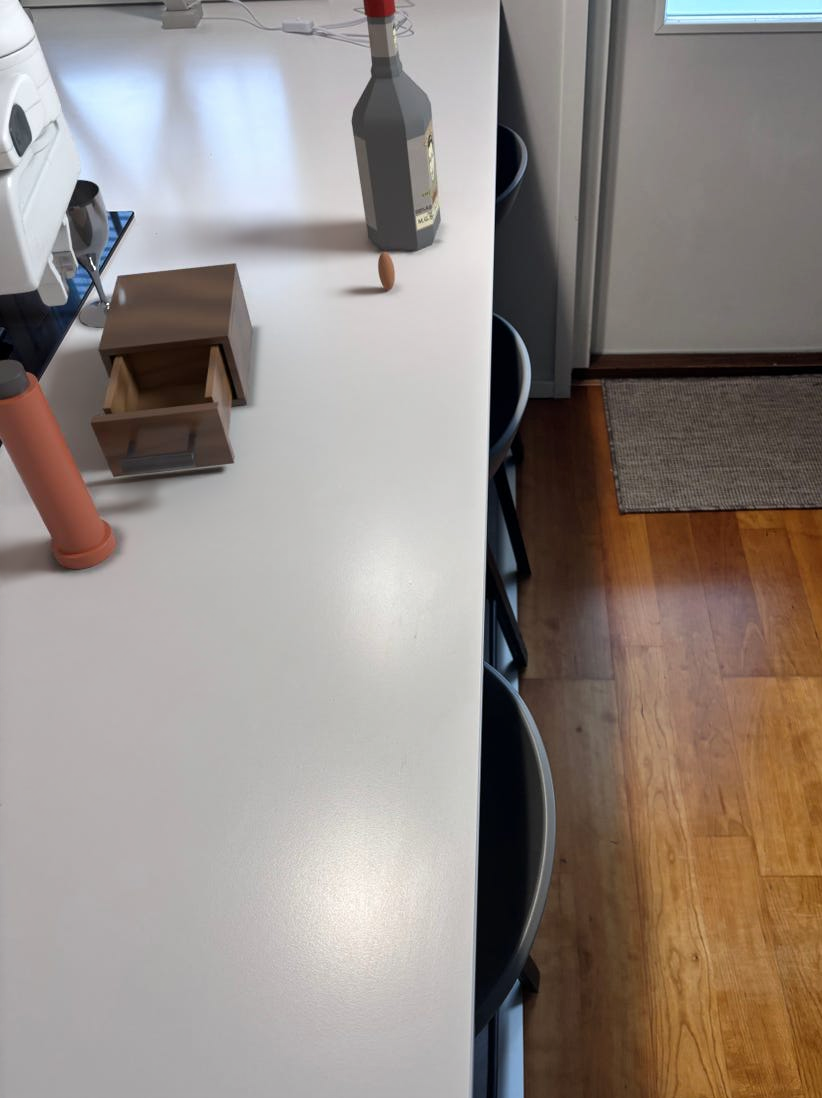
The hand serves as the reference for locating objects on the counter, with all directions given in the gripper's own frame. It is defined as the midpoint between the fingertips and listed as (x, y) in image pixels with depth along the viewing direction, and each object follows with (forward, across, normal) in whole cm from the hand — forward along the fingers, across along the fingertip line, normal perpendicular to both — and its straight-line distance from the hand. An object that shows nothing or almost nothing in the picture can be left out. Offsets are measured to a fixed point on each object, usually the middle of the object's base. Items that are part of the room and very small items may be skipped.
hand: (62, 287), depth 75 cm
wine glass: (+27, -46, -12) cm, 55 cm away
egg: (+27, -44, +24) cm, 57 cm away
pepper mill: (+27, -1, -8) cm, 28 cm away
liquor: (+27, -58, +27) cm, 70 cm away
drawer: (+26, -15, 0) cm, 30 cm away
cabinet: (+27, -30, 0) cm, 40 cm away
